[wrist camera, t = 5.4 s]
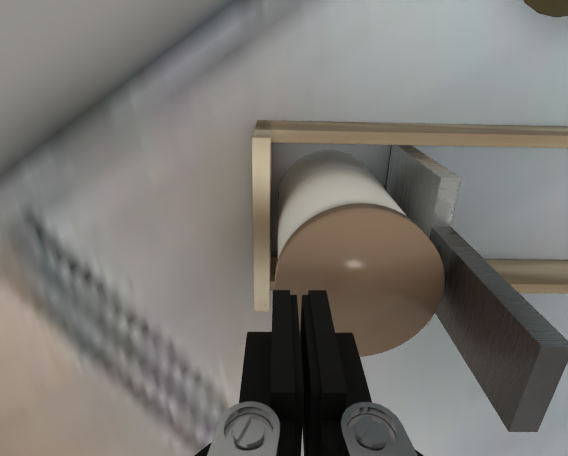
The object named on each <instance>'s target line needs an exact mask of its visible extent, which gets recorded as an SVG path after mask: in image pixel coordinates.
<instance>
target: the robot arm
mask: <svg viewBox="0 0 568 456" xmlns="http://www.w3.org/2000/svg"><path fill="white" fill-rule="evenodd" d="M302 428H303V444H304V456H423V455H422V454H421V453H419V452H418V451H416V450H415V449H414V447H413V445H412V443H411V441H410V439H409V437H408V435H407V433H406V431H405V429H404V427H403V425H402V423H401V422H400V421H399V419H398V418H397V416H396V415H395V414H394V413H392V412H391V411H390V410H389V409H387V408H385V407H384V406H382V405H380V404H376V403H372V401H371V397H370V393H369V390H368V386H367V382H366V378H365V375H364V371H363V367H362V364H361V360H360V356H359V353H358V349H357V345H356V342H355V338H354V335H353V333H335V330H334V325H333V320H332V315H331V310H330V306H329V301H328V296H327V291H326V290H309V291H308V295H302V303H301V324H300V329H299V316H298V303H297V295H290V290H273V312H272V332H248V333H247V339H246V347H245V356H244V364H243V373H242V382H241V390H240V399H239V404H236V405H234V406H232V407H231V408H229V409H228V410H227V411H226V412H225V413H224V414H223V415H222V417H221V419H220V421H219V422H218V425H217V428H216V431H215V434H214V437H213V440H212V442H211V443H210V444H209V445H207V446H206V447H205V448H204V449H202V450H201V451H200V452H199V453H197V454H196V455H195V456H301V442H302Z"/></svg>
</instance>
